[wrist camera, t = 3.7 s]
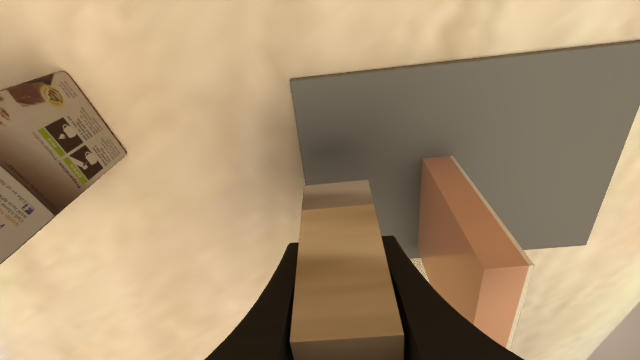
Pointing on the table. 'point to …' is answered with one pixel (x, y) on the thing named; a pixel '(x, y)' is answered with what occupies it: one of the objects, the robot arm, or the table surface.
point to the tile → (470, 251)
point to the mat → (479, 135)
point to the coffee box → (47, 154)
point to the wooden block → (343, 279)
